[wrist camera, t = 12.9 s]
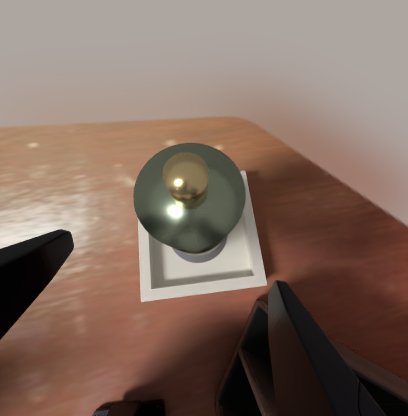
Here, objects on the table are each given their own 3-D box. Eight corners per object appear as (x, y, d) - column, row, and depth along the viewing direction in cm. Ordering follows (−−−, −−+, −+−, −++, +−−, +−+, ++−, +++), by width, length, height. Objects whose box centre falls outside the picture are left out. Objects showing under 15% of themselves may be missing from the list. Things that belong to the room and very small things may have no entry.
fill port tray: (260, 282, 21) (267, 285, 19) (147, 297, 21) (140, 301, 18) (241, 178, 24) (245, 170, 22) (142, 189, 24) (136, 182, 21)
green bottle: (205, 266, 20) (207, 277, 6) (166, 239, 21) (82, 192, 7) (229, 226, 22) (282, 153, 7) (192, 202, 22) (168, 92, 8)
